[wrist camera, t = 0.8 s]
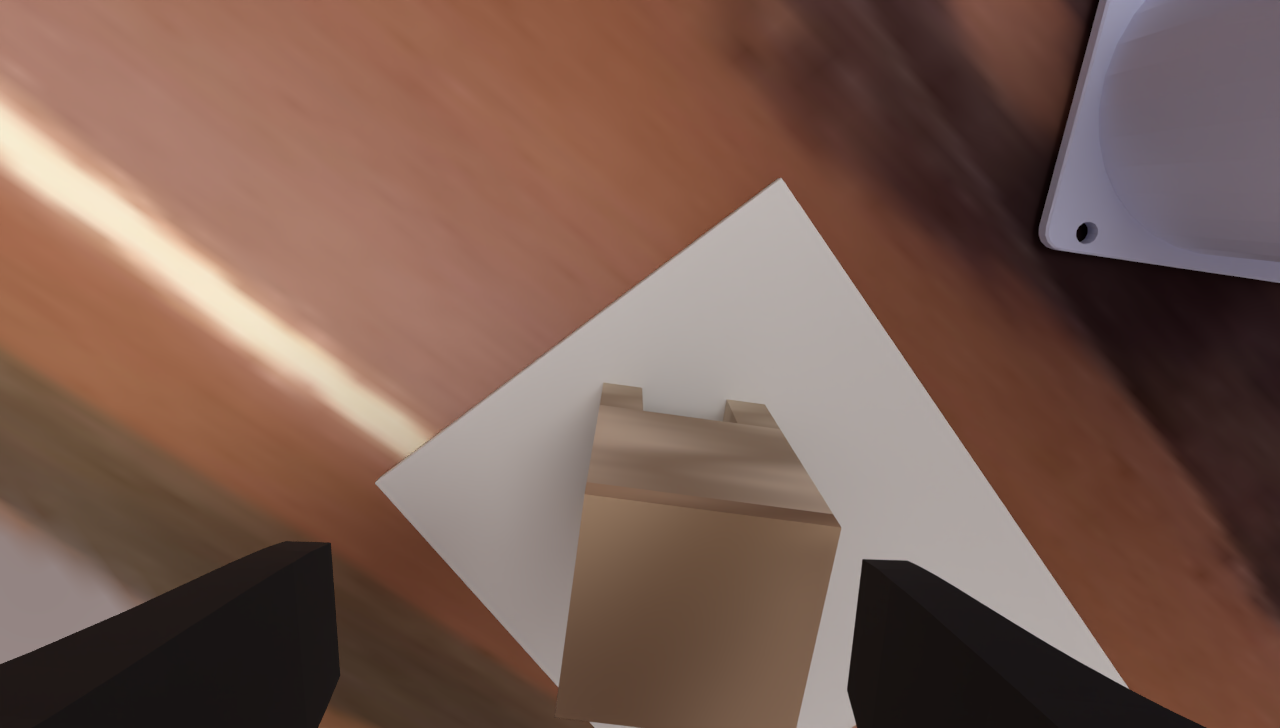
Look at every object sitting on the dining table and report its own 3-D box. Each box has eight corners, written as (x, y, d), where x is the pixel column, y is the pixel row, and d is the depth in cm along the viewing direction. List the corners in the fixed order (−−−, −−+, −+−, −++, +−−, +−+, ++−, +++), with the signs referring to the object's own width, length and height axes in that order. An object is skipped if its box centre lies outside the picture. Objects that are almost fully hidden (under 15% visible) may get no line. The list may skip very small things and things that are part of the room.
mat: (379, 477, 19) (373, 484, 19) (778, 178, 17) (782, 177, 17) (845, 997, 23) (849, 1014, 23) (1201, 799, 22) (1214, 812, 21)
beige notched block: (764, 404, 18) (841, 528, 12) (736, 551, 19) (792, 745, 12) (603, 382, 18) (584, 494, 11) (583, 531, 19) (554, 717, 12)
